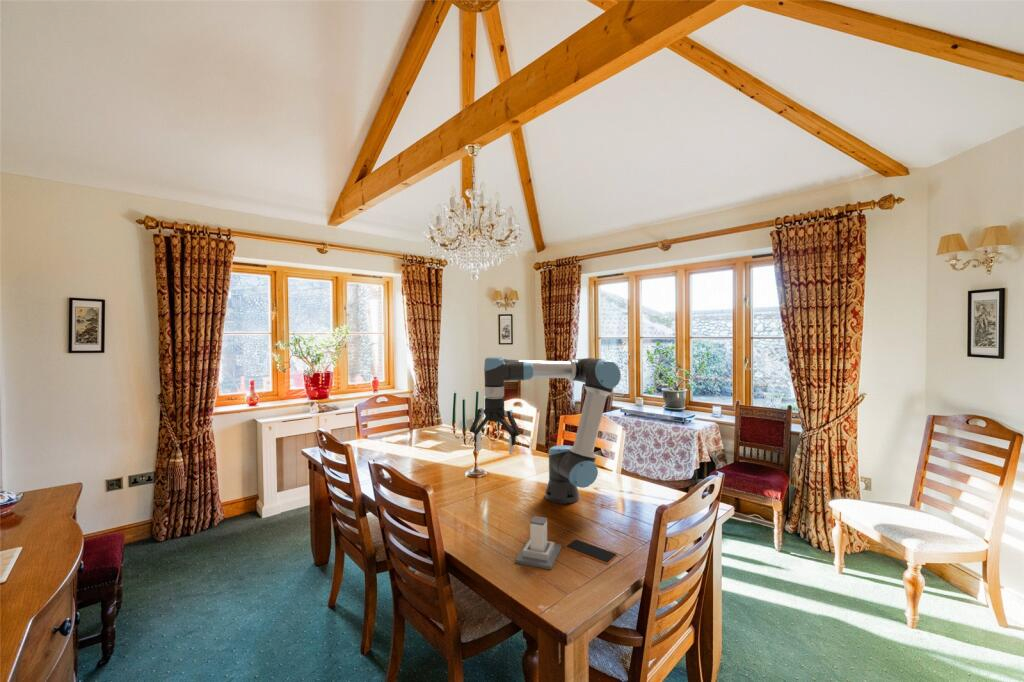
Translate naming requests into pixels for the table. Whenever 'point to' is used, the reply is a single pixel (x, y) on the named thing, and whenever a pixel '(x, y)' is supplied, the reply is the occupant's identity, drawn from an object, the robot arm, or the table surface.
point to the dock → (539, 555)
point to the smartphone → (591, 551)
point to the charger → (538, 534)
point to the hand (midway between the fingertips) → (494, 452)
